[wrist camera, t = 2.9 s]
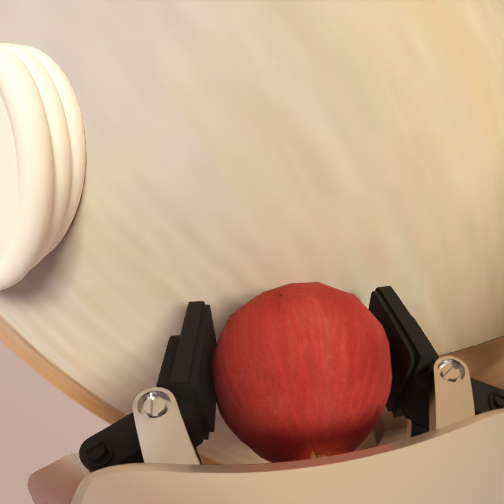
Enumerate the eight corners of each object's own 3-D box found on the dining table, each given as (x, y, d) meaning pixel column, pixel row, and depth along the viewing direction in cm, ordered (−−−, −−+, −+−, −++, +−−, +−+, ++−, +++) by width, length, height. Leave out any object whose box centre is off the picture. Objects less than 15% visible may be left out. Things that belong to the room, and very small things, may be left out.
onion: (343, 350, 14) (389, 498, 7) (224, 356, 14) (216, 519, 7) (364, 241, 11) (476, 405, 4) (214, 244, 11) (178, 447, 4)
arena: (523, 328, 15) (551, 363, 11) (450, 443, 22) (462, 471, 18) (364, 372, 15) (385, 431, 11) (328, 476, 22) (334, 512, 18)
